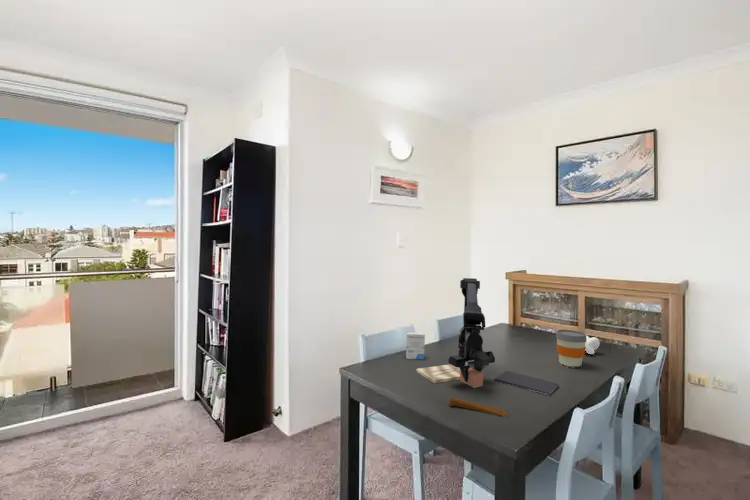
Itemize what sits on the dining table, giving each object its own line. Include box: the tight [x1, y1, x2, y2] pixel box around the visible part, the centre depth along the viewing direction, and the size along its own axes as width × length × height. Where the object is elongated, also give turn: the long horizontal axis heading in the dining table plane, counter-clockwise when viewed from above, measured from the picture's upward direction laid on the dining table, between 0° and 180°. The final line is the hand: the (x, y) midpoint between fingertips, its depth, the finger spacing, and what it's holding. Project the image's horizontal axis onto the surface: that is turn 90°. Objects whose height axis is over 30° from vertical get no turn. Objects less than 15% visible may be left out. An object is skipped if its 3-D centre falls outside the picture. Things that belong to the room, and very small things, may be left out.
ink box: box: [405, 331, 426, 360], centre depth 179 cm, size 9×5×12 cm, turn 84°
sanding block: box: [459, 367, 484, 389], centre depth 148 cm, size 4×8×5 cm, turn 30°
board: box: [416, 363, 460, 384], centre depth 157 cm, size 20×14×1 cm
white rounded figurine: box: [585, 334, 601, 355], centre depth 192 cm, size 11×12×9 cm
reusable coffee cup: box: [555, 329, 587, 366], centre depth 173 cm, size 13×13×15 cm
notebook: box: [493, 370, 560, 394], centre depth 149 cm, size 13×2×21 cm
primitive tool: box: [448, 395, 509, 417], centre depth 125 cm, size 19×6×4 cm, turn 75°
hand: (471, 380), depth 148 cm, fingers closed on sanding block, 5 cm apart
